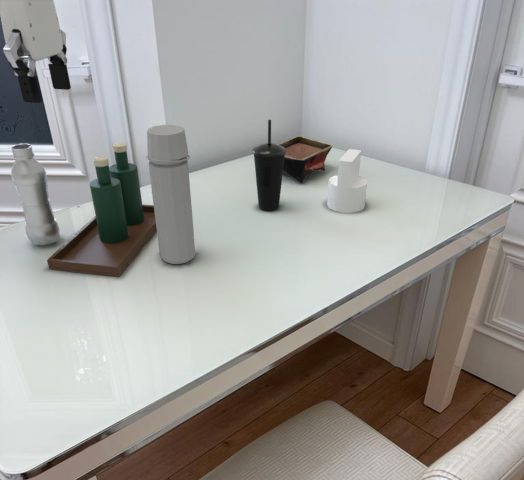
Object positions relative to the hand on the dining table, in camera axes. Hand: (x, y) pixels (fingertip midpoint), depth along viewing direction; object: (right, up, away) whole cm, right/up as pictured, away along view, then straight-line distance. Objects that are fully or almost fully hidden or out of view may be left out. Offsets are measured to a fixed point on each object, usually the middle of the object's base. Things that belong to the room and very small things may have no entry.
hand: (48, 95), depth 95 cm
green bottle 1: (+5, -20, +23) cm, 31 cm away
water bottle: (+20, -25, +18) cm, 37 cm away
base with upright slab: (+57, -9, +39) cm, 70 cm away
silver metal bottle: (-9, -21, +23) cm, 32 cm away
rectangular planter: (+47, +5, +57) cm, 73 cm away
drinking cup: (+38, -10, +38) cm, 55 cm away
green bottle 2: (+7, -14, +30) cm, 34 cm away
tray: (+5, -20, +23) cm, 31 cm away
